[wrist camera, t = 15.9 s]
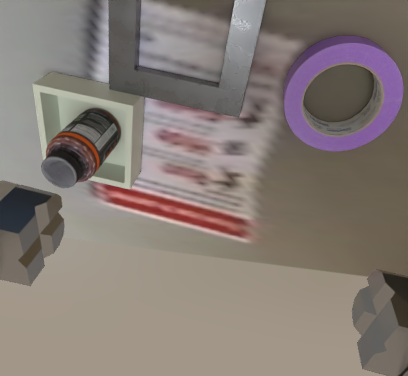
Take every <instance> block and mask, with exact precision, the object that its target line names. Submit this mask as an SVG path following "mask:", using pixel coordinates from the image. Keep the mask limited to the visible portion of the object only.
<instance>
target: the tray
mask: <svg viewBox="0 0 408 376" xmlns="http://www.w3.org/2000/svg"><path fill="white" fill-rule="evenodd" d="M33 91H34V99H35V106H36V113H37V120H38V127H39V134H40V141H41V148H42V155H43V161H44V159H45V158H46V148H47V146H48V144H49V142H50V141H51V140H52V139H53V138H54V137H55V136H56V135H57V134H58V133H60V132H61V131H62V130H63V129H64V128H65V127H66V126H67V125H68V124H70V123H71V122H72V121H73V120H74V119H75V118H77V116H79V115H80V114H81V113H83V112H84V111H86V110H88V109H101V110H104V111H106V112H108V113H109V114H110V115H112V116H113V117H114V118H115V120H116V121H117V123H118V125H119V127H120V130H121V133H120V134H121V135H120V140H119V142H118V144H117V146H116V147H115V148H114V150H113V151H112V152H111V153H110V154H109V156H108V157H107V158H106V160H105V161H104V162H103V164H102V165H101V166H100V167H99V169H98V170H97V171H96V172H95V174H94V175H93V176H92V177H91V178H90V179H88V180H92V181H96V182H100V183H105V184H109V185H113V186H117V187H122V188H126V189H131V187H132V185H133V184H134V182H135V180H136V179H137V177H138V175H139V174H140V172H141V158H142V140H143V122H144V103H145V97H142V96H138V95H133V94H128V93H124V92H119V91H115V90H110V89H109V84H106V83H102V82H97V81H92V80H88V79H83V78H79V77H74V76H69V75H65V74H60V73H56V72H51V73H50V74H48V75H46V76H45V77H43V78H41V79H40V80H38V81H36V82H35V83H33Z"/></svg>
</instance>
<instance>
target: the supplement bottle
mask: <svg viewBox="0 0 408 376" xmlns="http://www.w3.org/2000/svg"><path fill="white" fill-rule="evenodd" d="M120 133H121V130H120V127H119V125H118V123H117V121H116V120H115V118H114V117H113V116H112V115H110V114H109V113H108V112H106V111H104V110H101V109H88V110H86V111H84V112H83V113H81V114H80V115H79V116H77V118H75V119H74V120H73V121H72V122H71V123H70V124H68V125H67V126H66V127H65V128H64V129H63V130H62V131H61V132H60V133H58V134H57V135H56V136H55V137H54V138H53V139H52V140H51V141H50V142H49V144H48V146H47V148H46V158H45V159H44V161H43V162H42V165H41V168H42V172H43V175H44V176H45V178H46V179H47V180H48V181H49V182H50V183H52V184H53V185H55V186H58V187H61V188H69V187H72V186H73V185H74V184H75V183H76V182H83V181H86V180H88V179H90V178H91V177H92V176H93V175H94V174H95V172H96V171H97V170H98V169H99V167H100V166H101V165H102V164H103V162H104V161H105V160H106V158H107V157H108V156H109V154H110V153H111V152H112V151H113V150H114V148H115V147H116V146H117V144H118V142H119V140H120V135H121V134H120Z"/></svg>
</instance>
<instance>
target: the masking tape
mask: <svg viewBox="0 0 408 376" xmlns="http://www.w3.org/2000/svg"><path fill="white" fill-rule="evenodd" d="M344 64H352V65H358V66H361V67H364V68H366V69H367V70H369V71H370V72H372V74H373V78H374V90H373V94H372V97H371V99H370V101H369V102H368V104H367V105H366V106H365V108H364V109H363V110H362V111H360V112H359V113H358V114H357V115H355V116H353V117H352V118H350V119H347V120H344V121H340V122H326V121H322V120H319V119H317V118H315V117H314V116H312V115H311V114H310V113H309V112H308V111H307V109H306V108H305V106H304V104H303V100H304V95H305V92H306V90H307V88H308V86H309V85H310V83H311V82H312V81H313V80H314V79H315V78H316V77H317V76H318V75H319V74H320V73H322V72H323V71H325V70H327V69H329V68H331V67H334V66H338V65H344ZM402 98H403V80H402V76H401V73H400V71H399V68H398V67H397V65H396V63H395V62H394V61H393V60H392V58H391V57H390V56H389V55H388V54H387V53H386V52H385V51H384V50H383V49H382V48H381V47H380V46H378V45H377V44H376V43H374V42H372V41H370V40H368V39H366V38H362V37H358V36H336V37H331V38H328V39H325V40H322V41H320V42H318V43H316V44H314V45H313V46H311V47H310V48H308V49H307V50H306V51H305V52H303V53H302V54H301V55H300V57H299V58H298V59H297V60H296V61H295V62H294V64H293V65H292V67H291V69H290V70H289V72H288V75H287V77H286V81H285V85H284V111H285V116H286V120H287V122H288V124H289V126H290V128H291V130H292V131H293V132H294V134H295V135H296V136H297V137H298V138H299V139H300V140H302V141H303V142H304V143H306V144H308V145H310V146H312V147H314V148H317V149H321V150H325V151H345V150H351V149H354V148H358V147H360V146H363V145H365V144H367V143H369V142H371V141H372V140H374V139H375V138H377V137H378V136H379V135H380V134H382V133H383V132H384V131H385V130H386V129H387V128H388V127H389V125H390V124H391V123H392V122H393V120H394V119H395V117H396V115H397V113H398V111H399V109H400V106H401V103H402Z"/></svg>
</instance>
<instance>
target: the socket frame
mask: <svg viewBox="0 0 408 376" xmlns="http://www.w3.org/2000/svg"><path fill="white" fill-rule="evenodd" d="M265 3H266V0H235V2H234V8H233V13H232V19H231V24H230V30H229V35H228V41H227V46H226V51H225V57H224V62H223V68H222V73H221V79H220V83H215V82H211V81H206V80H201V79H197V78H192V77H187V76H182V75H178V74H173V73H168V72H164V71H159V70H154V69H150V68H145V67H140V66H138V61H139V37H140V12H141V0H109V89H110V90H115V91H119V92H124V93H128V94H133V95H138V96H142V97H147V98H151V99H156V100H161V101H165V102H170V103H174V104H179V105H184V106H188V107H193V108H197V109H202V110H206V111H211V112H216V113H220V114H225V115H229V116H234V117H239V116H240V111H241V107H242V103H243V98H244V94H245V90H246V85H247V81H248V77H249V72H250V68H251V64H252V59H253V55H254V51H255V46H256V42H257V38H258V33H259V29H260V25H261V20H262V16H263V12H264V7H265Z"/></svg>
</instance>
